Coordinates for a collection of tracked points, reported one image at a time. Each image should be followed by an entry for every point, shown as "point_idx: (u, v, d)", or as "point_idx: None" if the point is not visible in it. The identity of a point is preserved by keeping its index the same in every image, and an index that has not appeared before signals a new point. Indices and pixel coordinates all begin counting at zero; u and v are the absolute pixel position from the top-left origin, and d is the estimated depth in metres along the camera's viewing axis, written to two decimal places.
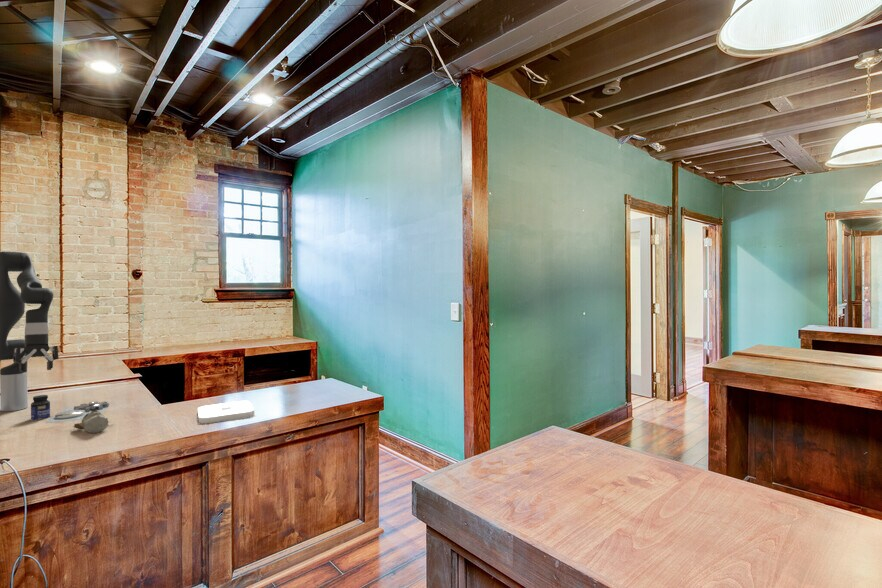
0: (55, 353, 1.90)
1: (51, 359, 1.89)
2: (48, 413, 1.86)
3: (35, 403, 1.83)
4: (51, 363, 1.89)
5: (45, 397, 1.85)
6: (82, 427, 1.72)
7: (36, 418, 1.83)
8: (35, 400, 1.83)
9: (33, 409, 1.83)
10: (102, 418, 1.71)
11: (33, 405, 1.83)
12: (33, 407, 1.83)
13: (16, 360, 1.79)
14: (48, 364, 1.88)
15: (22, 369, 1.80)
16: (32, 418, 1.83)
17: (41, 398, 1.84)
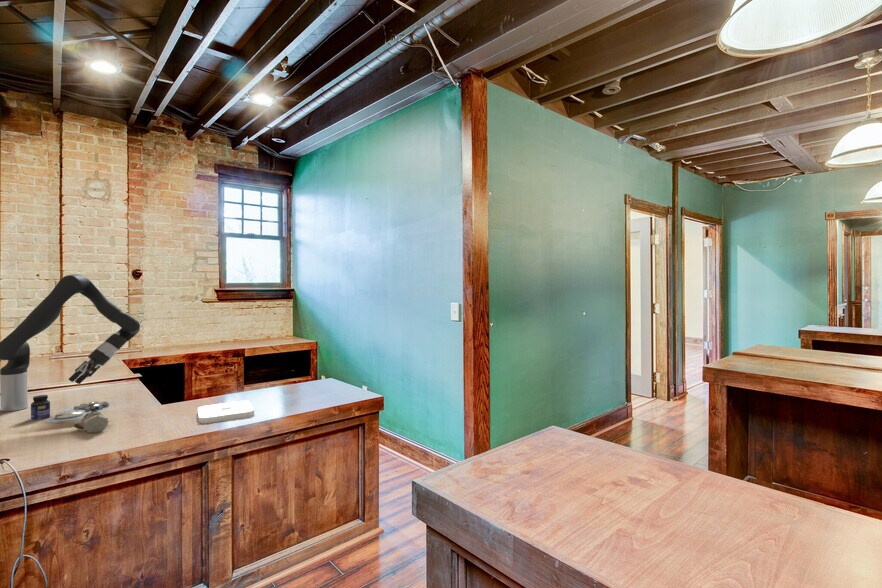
0: None
1: None
2: (48, 413, 1.86)
3: (35, 403, 1.83)
4: None
5: (45, 397, 1.85)
6: (82, 427, 1.72)
7: (36, 418, 1.83)
8: (35, 400, 1.83)
9: (33, 409, 1.83)
10: (102, 418, 1.71)
11: (33, 405, 1.83)
12: (33, 407, 1.83)
13: (91, 375, 1.95)
14: (75, 376, 1.99)
15: (81, 381, 1.93)
16: (32, 418, 1.83)
17: (41, 398, 1.84)
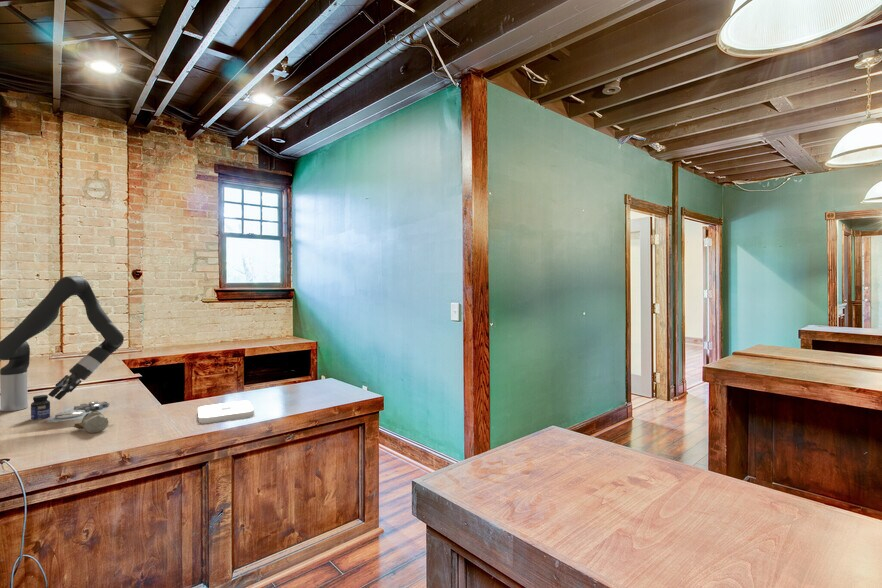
0: None
1: None
2: (48, 413, 1.86)
3: (35, 403, 1.83)
4: None
5: (45, 397, 1.85)
6: (82, 427, 1.72)
7: (36, 418, 1.83)
8: (35, 400, 1.83)
9: (33, 409, 1.83)
10: (102, 418, 1.71)
11: (33, 405, 1.83)
12: (33, 407, 1.83)
13: (72, 390, 1.89)
14: (56, 391, 1.93)
15: (61, 397, 1.88)
16: (32, 418, 1.83)
17: (41, 398, 1.84)
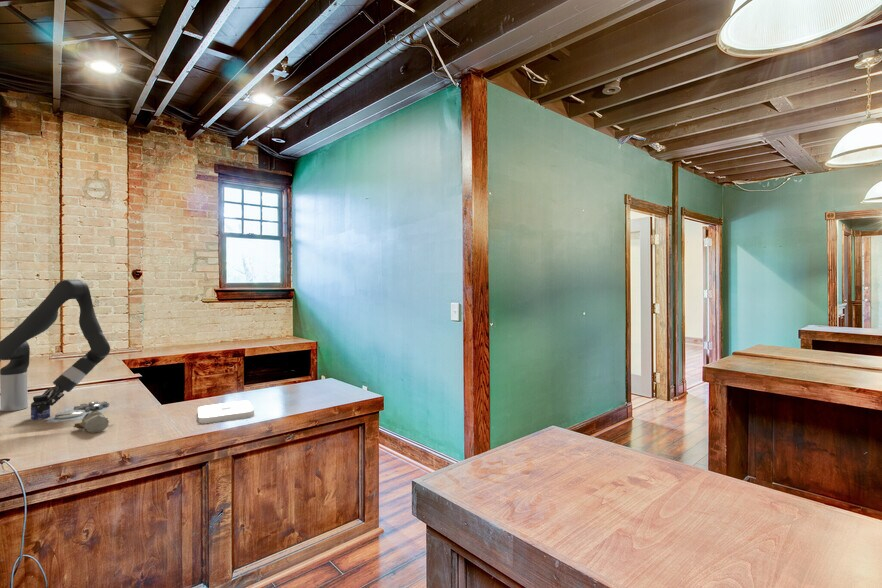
0: None
1: None
2: (48, 413, 1.86)
3: (35, 403, 1.83)
4: None
5: (45, 397, 1.85)
6: (82, 427, 1.72)
7: (36, 418, 1.83)
8: (35, 400, 1.83)
9: (33, 409, 1.83)
10: (102, 418, 1.71)
11: (33, 405, 1.83)
12: (33, 407, 1.83)
13: (53, 404, 1.85)
14: None
15: (42, 411, 1.83)
16: (32, 418, 1.83)
17: (41, 398, 1.84)
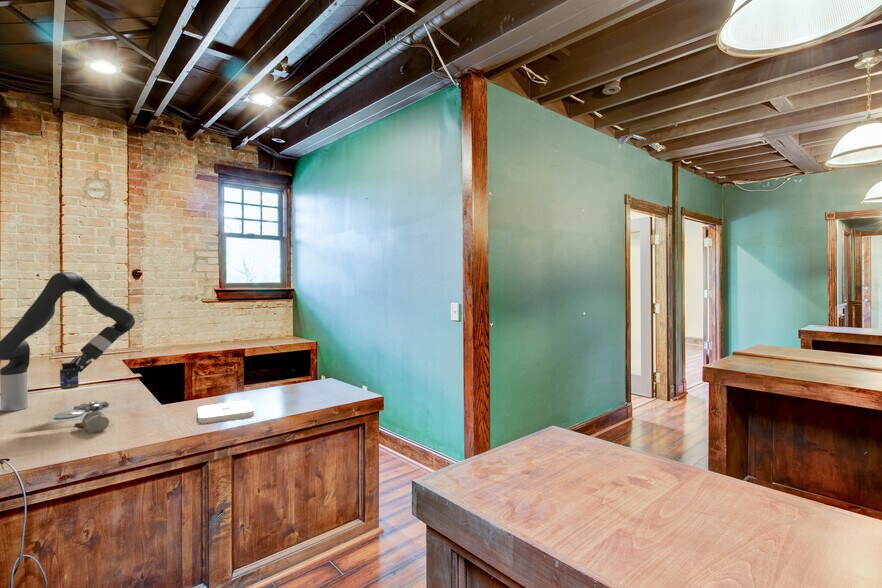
0: None
1: None
2: (77, 380, 1.89)
3: (64, 369, 1.86)
4: None
5: (73, 364, 1.88)
6: (83, 427, 1.72)
7: (65, 384, 1.86)
8: (64, 366, 1.86)
9: (62, 375, 1.86)
10: (103, 418, 1.71)
11: (62, 371, 1.86)
12: (62, 373, 1.86)
13: (81, 370, 1.87)
14: None
15: (71, 377, 1.86)
16: (61, 384, 1.86)
17: (70, 364, 1.87)
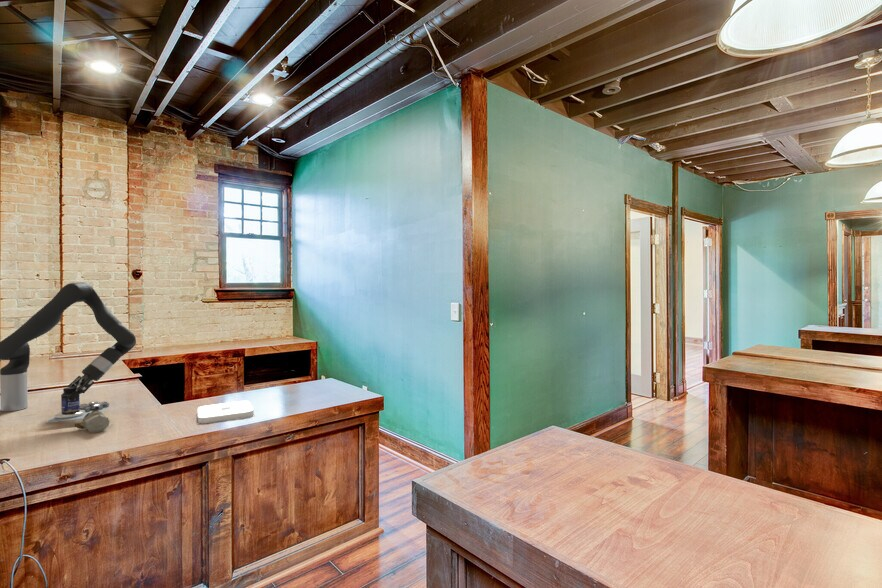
0: None
1: None
2: (78, 404, 1.90)
3: (65, 394, 1.87)
4: None
5: (75, 389, 1.89)
6: (83, 427, 1.72)
7: (66, 409, 1.86)
8: (65, 392, 1.87)
9: (64, 400, 1.86)
10: (103, 418, 1.71)
11: (64, 396, 1.86)
12: (64, 398, 1.86)
13: (84, 391, 1.88)
14: None
15: (74, 398, 1.86)
16: (63, 409, 1.86)
17: (71, 390, 1.88)
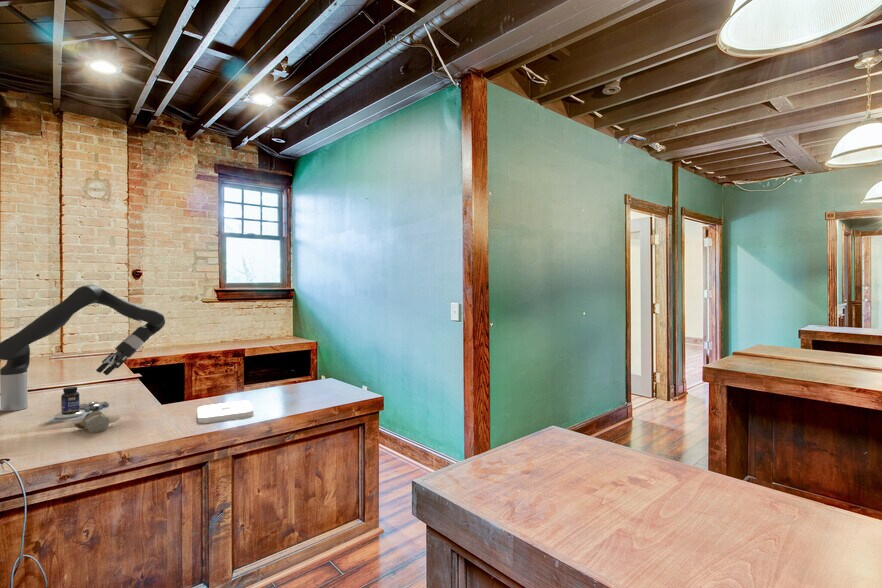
0: (110, 360, 2.07)
1: None
2: (78, 404, 1.90)
3: (65, 394, 1.87)
4: None
5: (75, 389, 1.89)
6: (83, 427, 1.72)
7: (66, 409, 1.86)
8: (65, 392, 1.87)
9: (64, 400, 1.86)
10: (103, 417, 1.72)
11: (63, 396, 1.86)
12: (64, 398, 1.86)
13: (118, 366, 1.99)
14: (102, 368, 2.03)
15: (109, 372, 1.97)
16: (63, 409, 1.86)
17: (71, 390, 1.88)
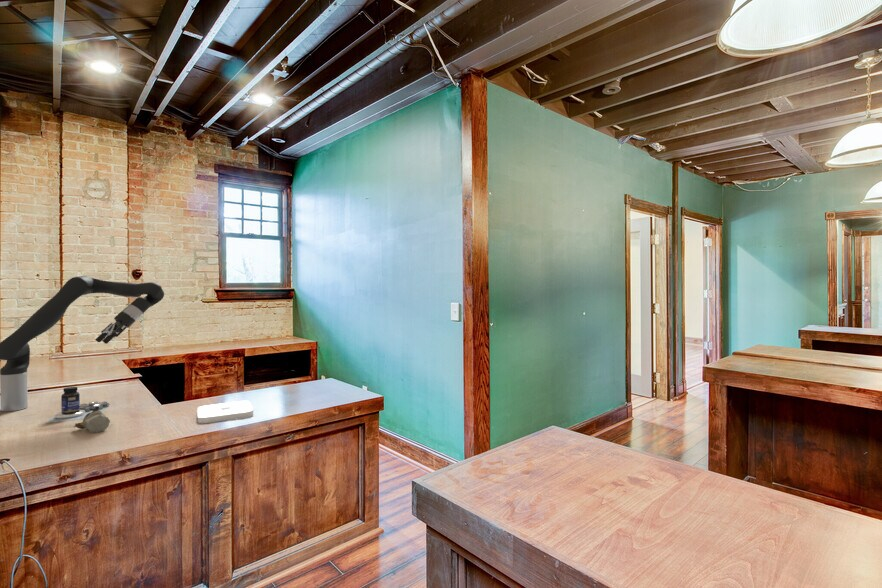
0: None
1: None
2: (78, 404, 1.90)
3: (66, 394, 1.87)
4: None
5: (75, 389, 1.89)
6: (83, 427, 1.72)
7: (66, 409, 1.86)
8: (65, 391, 1.87)
9: (64, 400, 1.86)
10: (104, 417, 1.72)
11: (64, 396, 1.86)
12: (64, 398, 1.86)
13: (118, 335, 2.00)
14: (102, 337, 2.03)
15: (108, 341, 1.98)
16: (63, 409, 1.86)
17: (71, 390, 1.88)
